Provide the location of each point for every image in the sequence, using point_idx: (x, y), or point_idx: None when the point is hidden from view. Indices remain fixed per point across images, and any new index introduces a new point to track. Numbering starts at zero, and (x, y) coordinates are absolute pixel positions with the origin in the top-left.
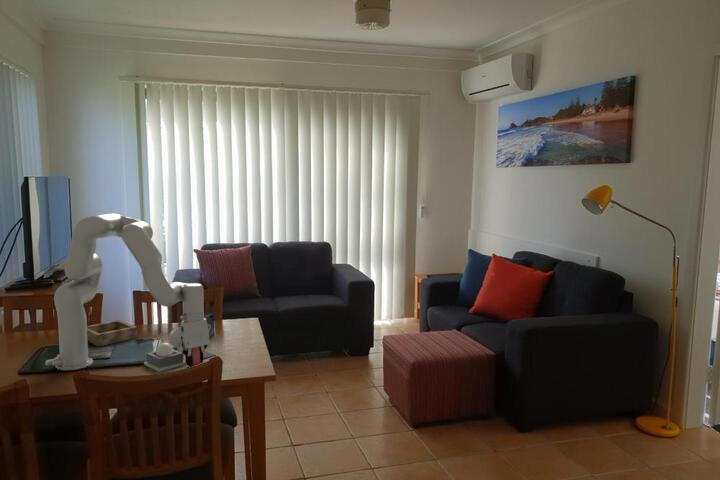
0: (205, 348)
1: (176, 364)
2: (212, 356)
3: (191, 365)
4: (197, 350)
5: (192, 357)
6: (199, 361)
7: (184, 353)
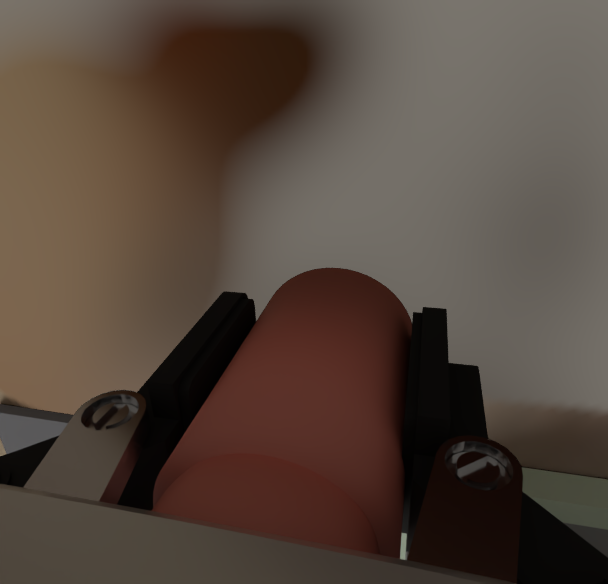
0: (29, 449)
1: (544, 497)
2: (33, 410)
3: (431, 309)
4: (239, 460)
5: (386, 399)
6: (277, 307)
7: (603, 557)
